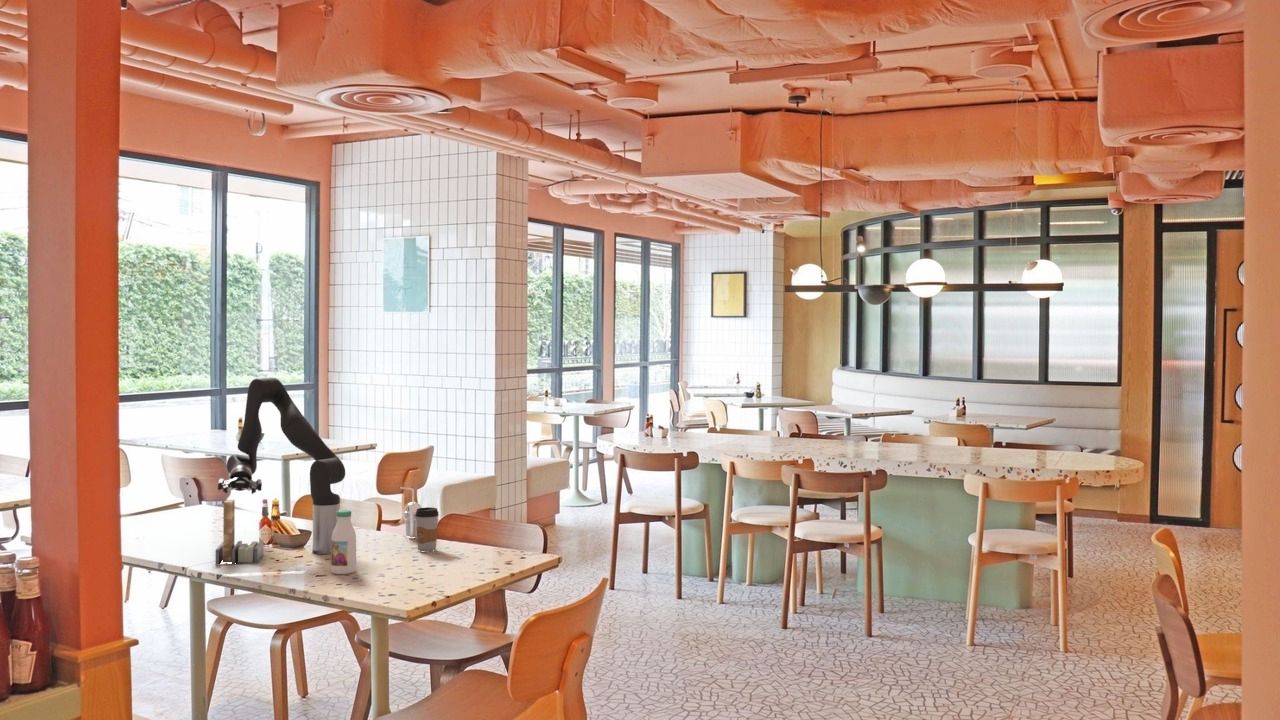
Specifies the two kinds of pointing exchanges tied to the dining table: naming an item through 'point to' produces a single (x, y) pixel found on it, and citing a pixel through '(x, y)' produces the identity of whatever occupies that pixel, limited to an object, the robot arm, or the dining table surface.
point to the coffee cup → (426, 528)
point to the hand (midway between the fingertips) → (239, 490)
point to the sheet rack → (219, 553)
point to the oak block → (228, 530)
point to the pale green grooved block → (246, 552)
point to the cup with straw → (410, 515)
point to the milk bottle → (343, 545)
